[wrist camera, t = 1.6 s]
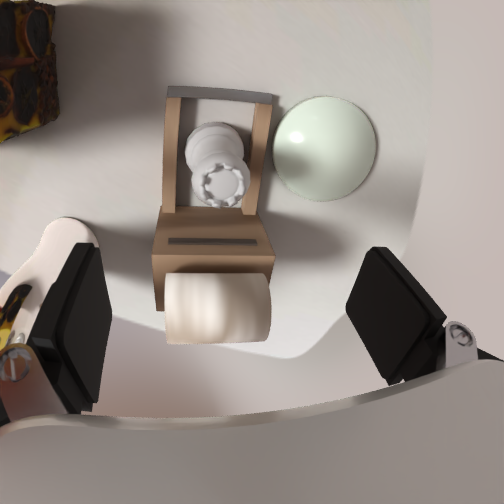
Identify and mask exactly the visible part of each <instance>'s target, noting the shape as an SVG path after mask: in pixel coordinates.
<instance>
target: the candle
mask: <svg viewBox="0 0 504 504" xmlns="http://www.w3.org/2000/svg"><path fill="white" fill-rule="evenodd" d="M54 7H55V6H53V5H50V4H47V3H46V4H43V3H39V2H36V1H35V0H23V1H14V2H13V1H10V0H0V143H1V142H3V141H5V140H7V139H10V138H13V137H15V136H19V135H20V134H23V133H26V132H28V131H30V130H33V129H35V128H37V127H41V126H44V125H46V124H47V123H49V122H50V121H54V120H55V119H57V117H58V115H59V103H58V94H57V88H56V87H57V74H56V66H55V64H56V54H55V51H54V48H55V44H54V43H52V42H51V33H52V25H53V21H54V14H55V10H54Z"/></svg>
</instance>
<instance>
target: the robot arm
mask: <svg viewBox="0 0 504 504" xmlns="http://www.w3.org/2000/svg"><path fill="white" fill-rule="evenodd" d="M346 313H347V315H348V317H349V318H350V320H351V322H352V324H353V325H354V327H355V329H356V331H357V332H358V334H359V336H360V338H361V339H362V341H363V343H364V345H365V347H366V349H367V350H368V352H369V354H370V356H371V358H372V360H373V361H374V363H375V365H376V367H377V369H378V371H379V373H380V375H381V376H382V378H384V379H386V381H387V383H388V385H389V386H390V385H394V384H397V383H400V381H401V380H402V379H404V381H405V382H404V383H401V384H397V385H394V386H391V387H387V388H383V389H380V390H376V391H372V392H369V393H365V394H361V395H357V396H353V397H348V398H344V399H340V400H335V401H331V402H325V403H320V404H315V405H310V406H304V407H298V408H292V409H286V410H278V411H271V412H263V413H254V414H245V415H234V416H220V417H201V418H132V417H113V416H96V415H81V411H89V412H92V406H93V403H97V402H98V398H99V390H100V383H101V375H102V369H103V363H104V357H105V351H106V346H107V341H108V336H109V331H110V326H111V321H112V308H111V304H110V300H109V295H108V291H107V286H106V281H105V276H104V271H103V266H102V260H101V254H100V249H99V248H98V247H95V246H94V244H93V243H84V242H78V243H76V244H75V245H74V247H73V249H72V251H71V252H70V254H69V256H68V258H67V260H66V262H65V264H64V266H63V268H62V269H61V271H60V273H59V275H58V277H57V279H56V282H54V283H52V285H51V286H50V288H49V290H48V293H47V295H46V297H45V299H44V301H43V303H42V306H41V308H40V310H39V312H38V315H37V317H36V319H35V322H34V324H33V326H32V329H31V331H30V334H29V336H28V339H27V342H26V344H23V343H13V344H10V345H7V346H6V347H4V348H3V349H1V351H0V504H504V361H503V360H500V359H499V358H497V357H495V356H493V355H491V354H489V353H487V352H485V351H482V350H481V349H478V348H477V345H476V339H475V336H474V335H473V333H472V332H471V330H470V329H469V328H467V327H466V326H465V325H463V324H462V323H459V322H456V321H451V322H449V323H448V324H447V325H446V326H445V328H444V327H443V326H442V324H443V322H444V321H445V320H446V318H447V316H446V315H445V314H444V312H443V311H442V310H441V309H440V307H439V306H438V305H437V304H436V303H435V301H434V300H433V299H432V298H431V296H430V295H429V294H428V293H427V292H426V291H425V289H424V288H423V287H422V286H421V285H420V283H419V282H418V281H417V280H416V279H415V278H414V277H413V276H412V274H411V273H410V272H409V271H408V270H407V269H406V268H405V266H404V265H403V264H402V263H401V262H400V261H399V260H398V259H397V258H396V257H395V255H394V254H393V253H392V252H391V251H390V250H389V249H388V248H387V247H372V248H371V249H370V250H369V251H368V252H367V253H366V255H365V258H364V261H363V263H362V266H361V268H360V271H359V274H358V276H357V279H356V281H355V284H354V286H353V289H352V291H351V293H350V296H349V298H348V301H347V303H346Z"/></svg>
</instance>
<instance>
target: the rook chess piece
mask: <svg viewBox="0 0 504 504" xmlns="http://www.w3.org/2000/svg"><path fill="white" fill-rule="evenodd" d="M184 151H185V158H186V163H187V165H188V166H189V168H190V169H191V171H192V172H193V175H192V179H191V181H192V187H193V191H194V192H195V194H196V195H197V197H198V199H200V200H201V201H203V202H204V203H206V204H207V205H210V206H212V207H215V208H219V209H221V207H224V206H229V207H232V206H233V205H235V204H237V203H238V201H239V200H240V199H241V198H242V197H243V196H244V195H245V194H246V193H247V191H248V188H249V185H250V171H249V169H248V167H247V165H246V164H245V162H244V161H243V157H244V147H243V143H242V140H241V138H240V136H239V134H238V132H237V131H236V130H234V129H233V128H232V127H230V126H229V125H227V124H223V123H219V122H212V123H205V124H203V125H201V126H199V127H198V128H196V129H194V131H193V132H192V133H191V134H190V136H189V137H188V138H187V141H186V145H185V148H184Z"/></svg>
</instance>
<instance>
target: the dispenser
mask: <svg viewBox="0 0 504 504" xmlns="http://www.w3.org/2000/svg"><path fill="white" fill-rule="evenodd" d="M272 96H273V94H269V93H261V92H253V91H244V90H235V89H223V88H209V87H189V86H168V92H167V98H166V110H165V125H164V145H163V182H162V206H161V207H160V212H159V217H158V222H157V227H156V232H155V237H154V243H153V248H152V254H151V257H152V270H153V281H154V292H155V301H156V310H157V311H165V329H166V338H167V343H168V344H213V343H241V342H259V341H265V340H266V339H267V337H268V335H269V331H270V326H271V296H270V290H269V283H270V279H271V274H272V270H273V265H274V261H275V254H274V251H273V249H272V246H271V244H270V242H269V239H268V237H267V234H266V232H265V230H264V227H263V225H262V223H261V220H260V218H259V216H258V213H257V211H256V208H257V201H258V195H259V189H260V182H261V176H262V170H263V163H264V157H265V151H266V144H267V138H268V132H269V126H270V119H271V113H272V107H273V105H271V102H272ZM182 97H188V98H209V99H224V100H235V101H245V102H255V103H256V105H255V112H254V118H253V125H252V132H251V139H250V147H249V154H248V161H247V167H248V169H249V171H250V185H249V188H248V191H247V193H246V194H245V195H244V196H243V198H242V205H241V208H225V207H221V209H219V208H215V207H189V206H176V175H177V153H178V136H179V121H180V109H181V98H182Z"/></svg>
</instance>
